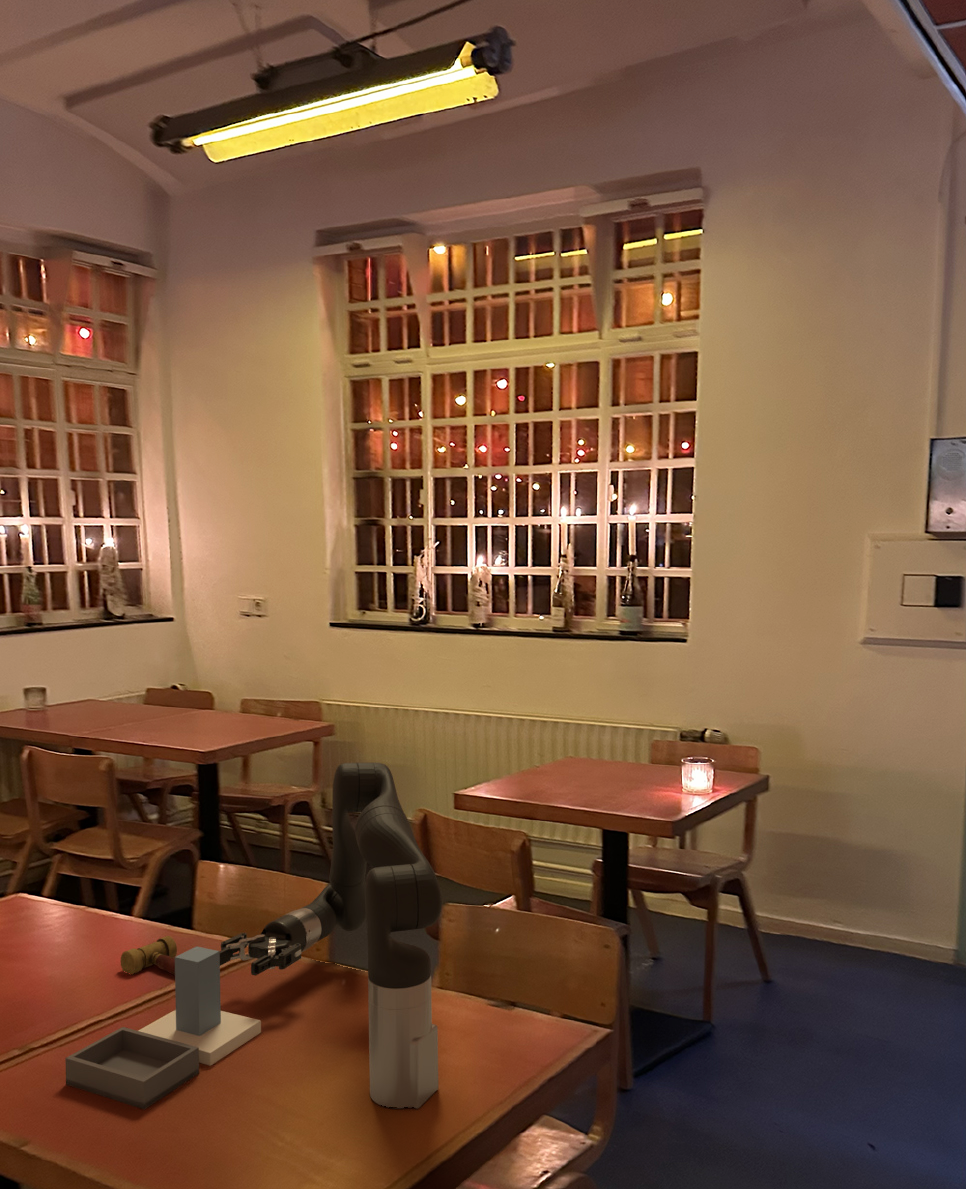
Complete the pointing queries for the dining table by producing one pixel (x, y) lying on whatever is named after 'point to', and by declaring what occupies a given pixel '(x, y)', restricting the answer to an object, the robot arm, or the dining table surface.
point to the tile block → (197, 990)
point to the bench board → (209, 1035)
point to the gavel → (151, 956)
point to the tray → (132, 1067)
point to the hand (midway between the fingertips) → (233, 965)
